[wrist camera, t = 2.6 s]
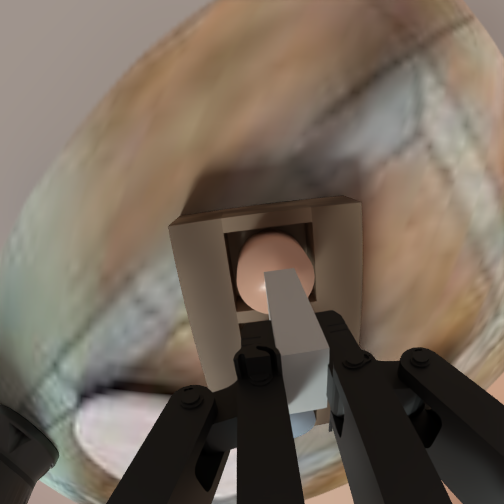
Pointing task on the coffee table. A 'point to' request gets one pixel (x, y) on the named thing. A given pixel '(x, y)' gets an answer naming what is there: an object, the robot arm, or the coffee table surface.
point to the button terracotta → (270, 265)
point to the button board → (226, 260)
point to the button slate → (302, 422)
